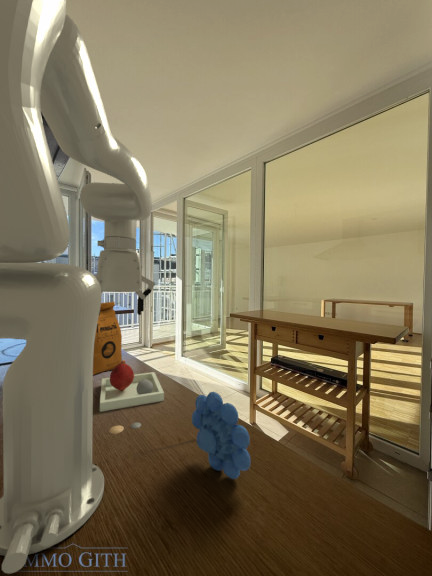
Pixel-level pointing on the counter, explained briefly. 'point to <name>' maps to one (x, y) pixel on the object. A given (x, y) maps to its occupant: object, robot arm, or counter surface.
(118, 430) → the tile
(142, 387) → the ball
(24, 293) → the robot arm
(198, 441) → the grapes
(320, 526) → the counter surface
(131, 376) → the onion
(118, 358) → the coffee package
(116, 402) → the dish
